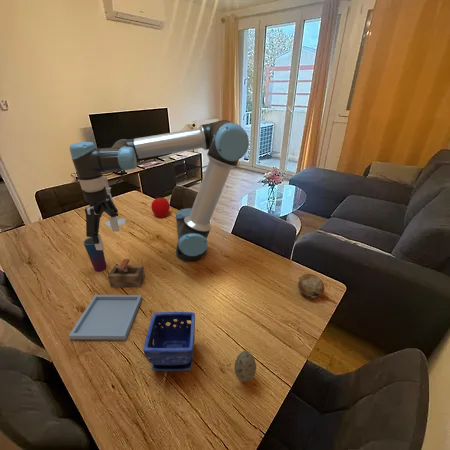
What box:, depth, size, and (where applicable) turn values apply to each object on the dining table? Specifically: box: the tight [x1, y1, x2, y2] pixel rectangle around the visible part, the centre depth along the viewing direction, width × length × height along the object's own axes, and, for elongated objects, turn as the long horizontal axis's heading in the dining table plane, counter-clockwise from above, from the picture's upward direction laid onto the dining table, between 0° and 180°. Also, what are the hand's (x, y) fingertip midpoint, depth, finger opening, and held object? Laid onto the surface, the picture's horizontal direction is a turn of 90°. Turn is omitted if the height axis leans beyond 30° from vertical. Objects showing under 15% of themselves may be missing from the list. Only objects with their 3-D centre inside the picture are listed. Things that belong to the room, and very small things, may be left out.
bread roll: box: [297, 273, 325, 299], centre depth 98 cm, size 10×10×8 cm
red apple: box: [150, 197, 171, 218], centre depth 156 cm, size 11×11×13 cm
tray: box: [68, 294, 143, 341], centre depth 87 cm, size 18×18×2 cm
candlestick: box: [103, 175, 127, 228], centre depth 143 cm, size 13×13×30 cm
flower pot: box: [143, 311, 196, 372], centre depth 73 cm, size 13×13×12 cm
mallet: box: [119, 258, 130, 274], centre depth 102 cm, size 3×6×10 cm, turn 0°
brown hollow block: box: [107, 264, 146, 288], centre depth 103 cm, size 12×7×6 cm, turn 90°
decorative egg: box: [234, 350, 257, 382], centre depth 68 cm, size 6×6×10 cm
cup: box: [82, 237, 107, 272], centre depth 109 cm, size 7×7×15 cm
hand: (108, 239), depth 97 cm, fingers open, 13 cm apart
